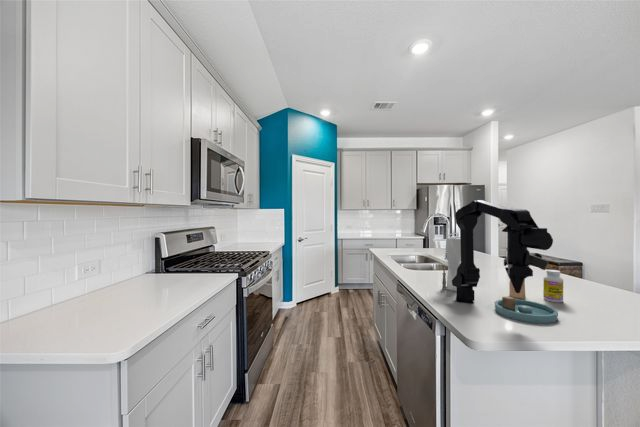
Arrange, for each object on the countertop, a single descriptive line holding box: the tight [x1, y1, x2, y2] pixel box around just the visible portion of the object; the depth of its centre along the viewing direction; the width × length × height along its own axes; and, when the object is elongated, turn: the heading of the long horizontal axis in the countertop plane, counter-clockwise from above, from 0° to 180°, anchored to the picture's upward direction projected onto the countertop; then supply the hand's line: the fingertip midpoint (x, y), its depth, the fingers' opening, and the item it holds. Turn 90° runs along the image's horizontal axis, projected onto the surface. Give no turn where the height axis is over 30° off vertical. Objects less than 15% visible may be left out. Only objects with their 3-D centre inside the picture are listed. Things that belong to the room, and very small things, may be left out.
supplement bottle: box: [542, 269, 564, 303], centre depth 125 cm, size 7×7×13 cm
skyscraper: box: [441, 232, 461, 293], centre depth 144 cm, size 8×8×28 cm
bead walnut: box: [501, 296, 516, 312], centre depth 112 cm, size 4×4×4 cm
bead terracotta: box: [508, 280, 524, 298], centre depth 101 cm, size 4×4×4 cm
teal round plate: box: [494, 298, 559, 324], centre depth 110 cm, size 19×19×2 cm
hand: (516, 291), depth 101 cm, fingers closed on bead terracotta, 4 cm apart
